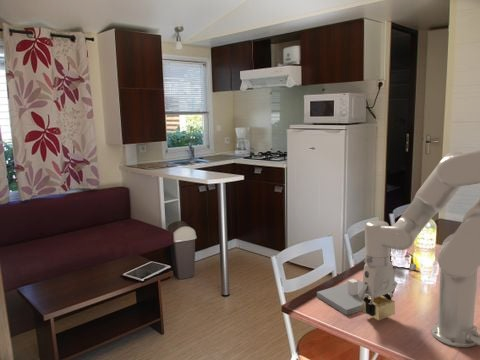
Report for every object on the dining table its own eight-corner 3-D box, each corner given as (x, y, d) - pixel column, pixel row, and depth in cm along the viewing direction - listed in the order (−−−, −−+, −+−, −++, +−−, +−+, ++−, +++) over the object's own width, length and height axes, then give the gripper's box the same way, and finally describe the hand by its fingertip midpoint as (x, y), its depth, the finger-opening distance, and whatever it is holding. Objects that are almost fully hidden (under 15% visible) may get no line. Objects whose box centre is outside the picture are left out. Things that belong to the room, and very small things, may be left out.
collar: (394, 314, 134) (394, 301, 134) (378, 320, 131) (378, 307, 131) (378, 306, 141) (378, 293, 140) (362, 311, 137) (362, 299, 137)
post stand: (389, 300, 148) (390, 282, 147) (346, 315, 139) (346, 296, 138) (357, 284, 162) (358, 267, 161) (316, 297, 153) (316, 279, 152)
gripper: (365, 269, 126) (367, 323, 129) (406, 256, 134) (406, 308, 136) (348, 262, 132) (350, 314, 135) (388, 250, 140) (389, 300, 143)
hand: (378, 310), depth 136 cm, fingers closed on collar, 7 cm apart
